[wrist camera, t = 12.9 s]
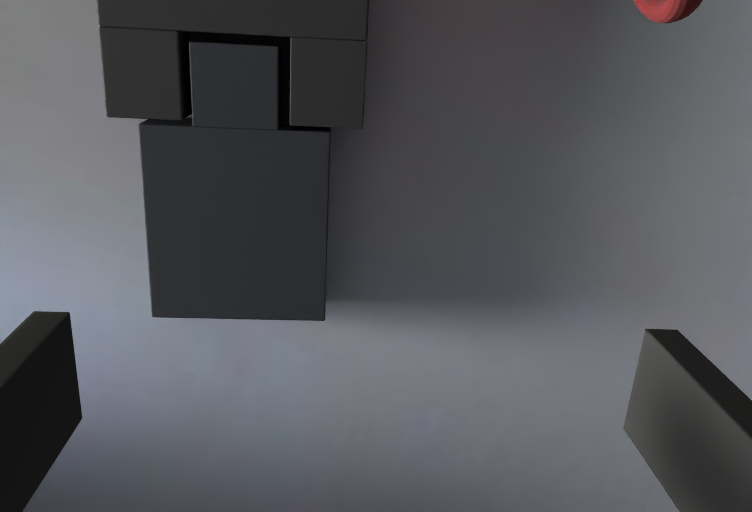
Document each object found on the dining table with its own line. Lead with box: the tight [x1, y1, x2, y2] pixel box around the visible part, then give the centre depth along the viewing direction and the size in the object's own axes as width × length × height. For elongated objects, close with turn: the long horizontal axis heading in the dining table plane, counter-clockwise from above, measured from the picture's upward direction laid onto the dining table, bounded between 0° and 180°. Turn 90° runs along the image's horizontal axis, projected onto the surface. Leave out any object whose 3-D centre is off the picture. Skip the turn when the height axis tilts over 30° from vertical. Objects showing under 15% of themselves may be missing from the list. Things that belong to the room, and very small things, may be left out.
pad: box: [139, 40, 331, 321], centre depth 33 cm, size 9×14×2 cm, turn 177°
